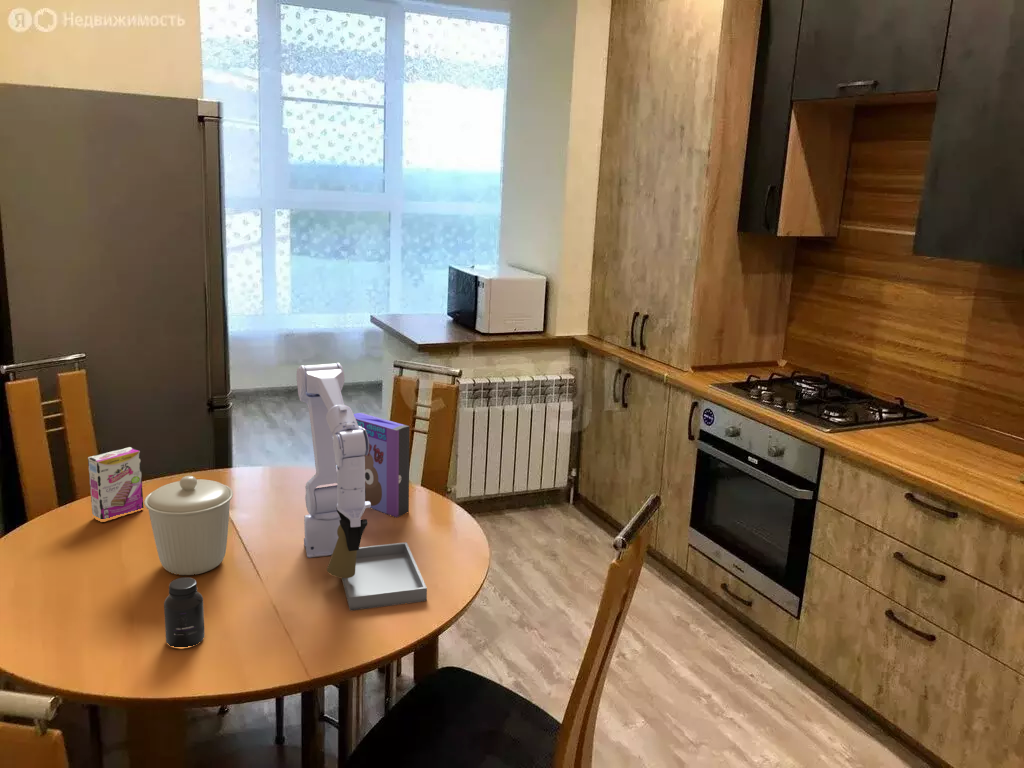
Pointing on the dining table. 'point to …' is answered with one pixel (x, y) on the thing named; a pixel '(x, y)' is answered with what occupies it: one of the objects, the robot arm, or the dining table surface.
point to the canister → (190, 524)
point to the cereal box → (386, 465)
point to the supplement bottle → (184, 613)
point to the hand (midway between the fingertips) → (351, 544)
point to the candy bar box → (115, 482)
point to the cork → (342, 558)
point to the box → (384, 578)
